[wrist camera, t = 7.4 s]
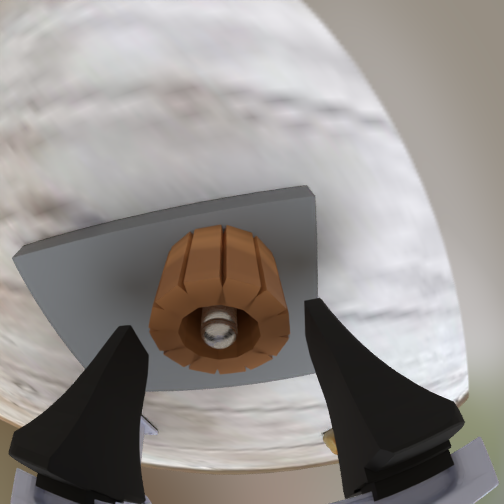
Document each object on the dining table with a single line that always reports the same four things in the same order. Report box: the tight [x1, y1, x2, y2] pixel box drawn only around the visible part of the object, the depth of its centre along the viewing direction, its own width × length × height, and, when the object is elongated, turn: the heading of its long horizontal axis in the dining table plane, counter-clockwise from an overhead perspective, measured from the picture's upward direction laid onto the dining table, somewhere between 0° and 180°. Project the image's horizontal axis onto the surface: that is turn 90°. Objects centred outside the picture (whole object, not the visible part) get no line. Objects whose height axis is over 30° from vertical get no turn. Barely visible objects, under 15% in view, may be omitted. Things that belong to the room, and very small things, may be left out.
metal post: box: [201, 305, 238, 349], centre depth 12 cm, size 2×2×4 cm
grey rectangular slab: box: [12, 186, 318, 391], centre depth 17 cm, size 18×14×2 cm
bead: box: [148, 225, 290, 375], centre depth 12 cm, size 6×6×4 cm
